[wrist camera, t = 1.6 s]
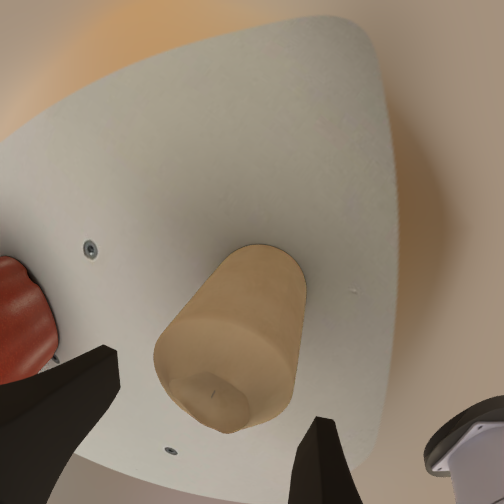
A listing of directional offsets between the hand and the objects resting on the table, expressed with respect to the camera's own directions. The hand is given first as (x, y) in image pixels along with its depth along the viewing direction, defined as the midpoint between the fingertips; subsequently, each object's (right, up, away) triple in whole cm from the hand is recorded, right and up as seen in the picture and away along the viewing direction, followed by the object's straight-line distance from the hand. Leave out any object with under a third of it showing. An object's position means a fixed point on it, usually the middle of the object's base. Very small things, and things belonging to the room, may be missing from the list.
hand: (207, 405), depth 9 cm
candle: (+2, +3, +9) cm, 10 cm away
